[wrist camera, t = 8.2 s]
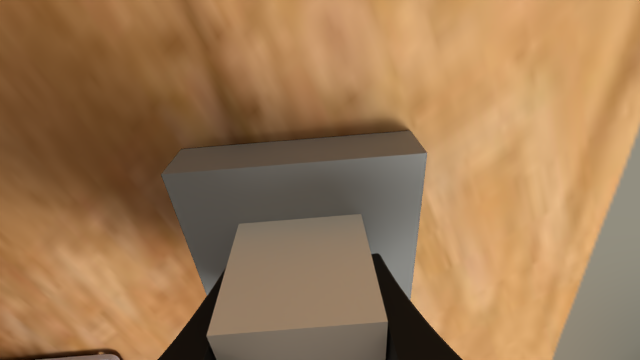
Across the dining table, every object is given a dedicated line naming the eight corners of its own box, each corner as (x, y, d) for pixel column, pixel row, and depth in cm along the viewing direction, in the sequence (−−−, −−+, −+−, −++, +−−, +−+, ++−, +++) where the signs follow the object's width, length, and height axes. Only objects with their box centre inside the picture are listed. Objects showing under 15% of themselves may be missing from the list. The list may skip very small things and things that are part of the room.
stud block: (230, 300, 17) (211, 378, 14) (181, 149, 12) (133, 209, 9) (397, 287, 17) (420, 362, 14) (410, 130, 12) (450, 183, 9)
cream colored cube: (259, 304, 14) (242, 420, 10) (238, 223, 12) (206, 335, 8) (361, 295, 14) (382, 409, 10) (361, 213, 12) (387, 321, 8)
